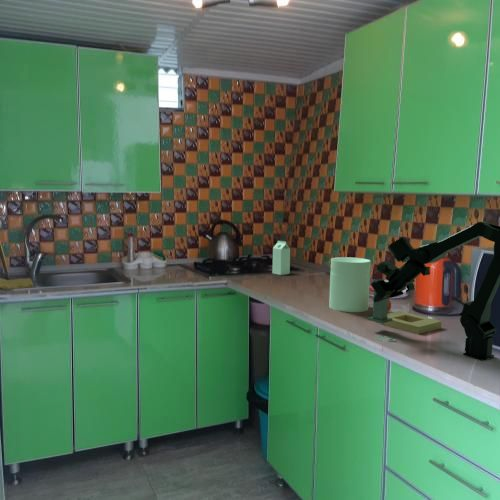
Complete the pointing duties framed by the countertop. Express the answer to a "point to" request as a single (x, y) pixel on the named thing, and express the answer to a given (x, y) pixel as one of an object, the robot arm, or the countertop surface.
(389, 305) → the clementine
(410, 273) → the robot arm
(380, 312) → the bracket
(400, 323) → the olive square-hole block
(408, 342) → the countertop surface
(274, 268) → the milk carton
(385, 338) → the mounting bracket
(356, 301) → the canister
